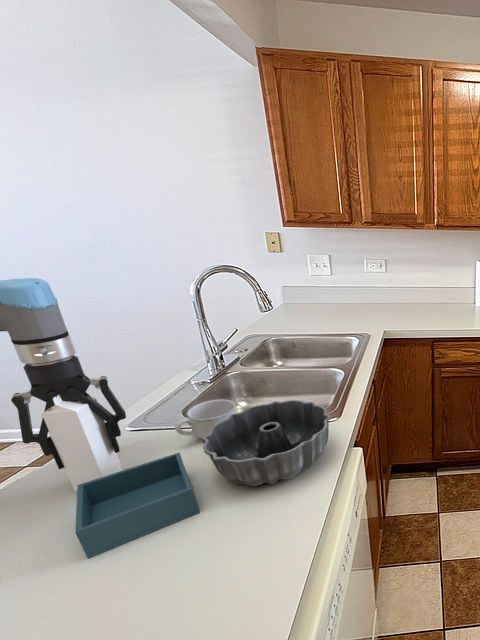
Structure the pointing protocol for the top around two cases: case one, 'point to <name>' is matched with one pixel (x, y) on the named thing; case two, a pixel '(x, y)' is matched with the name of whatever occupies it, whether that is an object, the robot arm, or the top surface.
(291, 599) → the top surface
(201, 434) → the teacup
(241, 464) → the bundt pan
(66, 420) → the milk
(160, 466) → the tote
